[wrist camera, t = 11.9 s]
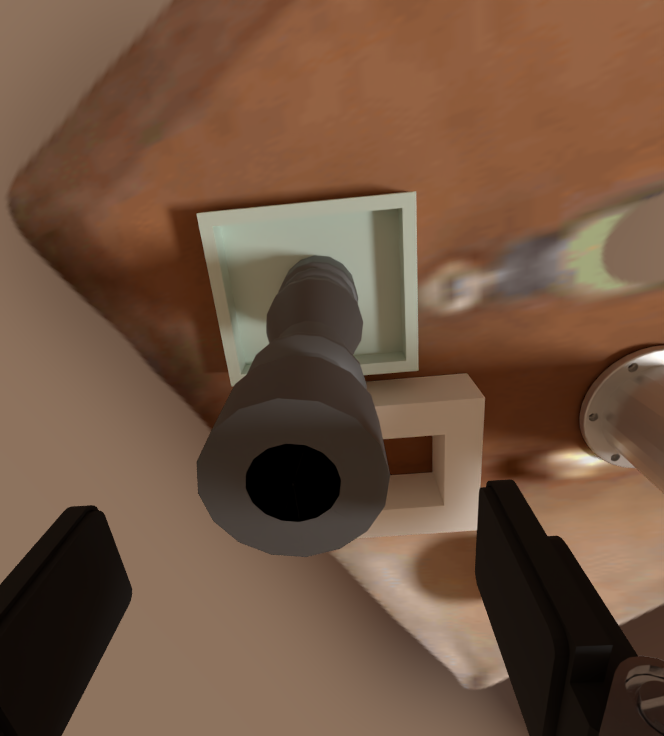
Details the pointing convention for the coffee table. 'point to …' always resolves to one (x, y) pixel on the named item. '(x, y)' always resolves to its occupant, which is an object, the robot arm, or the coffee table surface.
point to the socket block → (449, 453)
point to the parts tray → (322, 238)
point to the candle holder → (300, 427)
